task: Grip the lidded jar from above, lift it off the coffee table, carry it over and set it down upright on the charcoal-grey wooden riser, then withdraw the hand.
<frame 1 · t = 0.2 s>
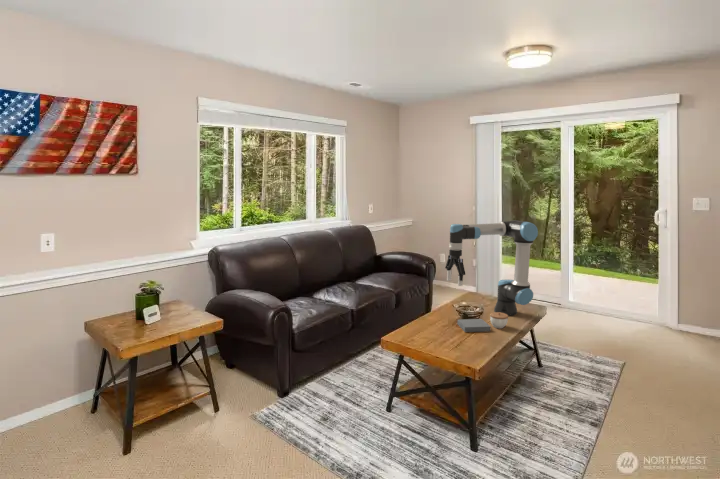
hand: (454, 283, 258), 28 cm above the table, tool pointing down, fingers open, 13 cm apart
lidded jar: (498, 327, 261), on the table
riser: (473, 327, 259), on the table
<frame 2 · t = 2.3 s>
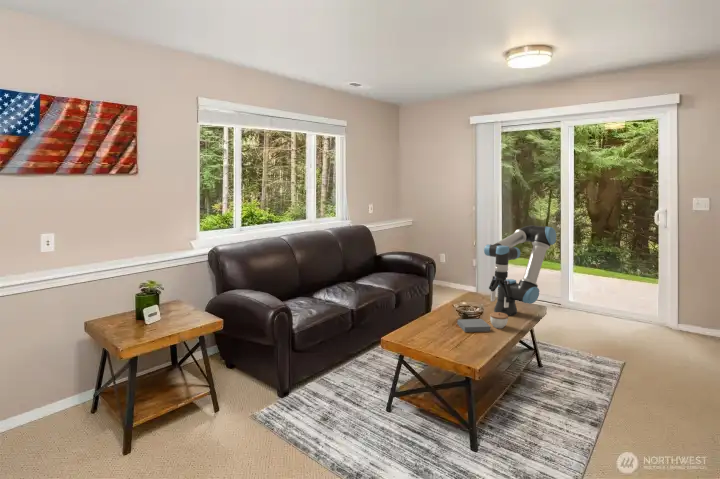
hand: (499, 304, 258), 15 cm above the table, tool pointing down, fingers open, 13 cm apart
nothing on the table moved.
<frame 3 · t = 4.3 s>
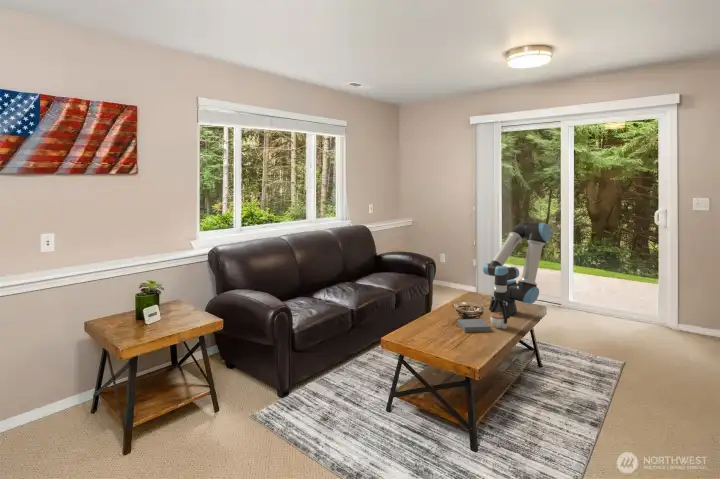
hand: (498, 325, 261), 1 cm above the table, tool pointing down, fingers closed on lidded jar, 11 cm apart
lidded jar: (498, 326, 261), on the table, touching gripper
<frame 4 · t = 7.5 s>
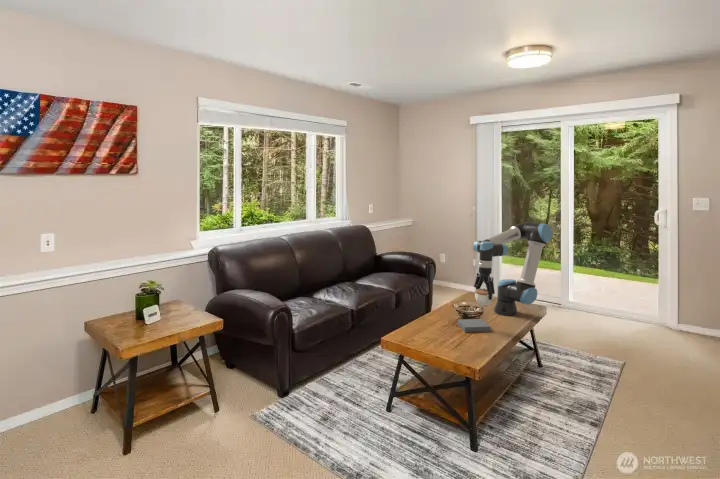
hand: (483, 301, 257), 17 cm above the table, tool pointing down, fingers closed on lidded jar, 11 cm apart
lidded jar: (483, 303, 257), point 15 cm above the table, touching gripper
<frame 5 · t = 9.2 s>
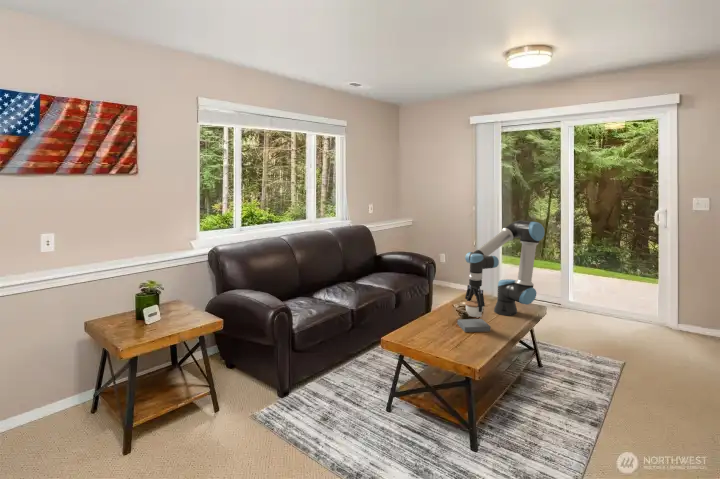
hand: (473, 313, 258), 9 cm above the table, tool pointing down, fingers closed on lidded jar, 11 cm apart
lidded jar: (473, 315, 258), point 8 cm above the table, touching gripper
when the fingers open (6 cm above the table, at t = 10.8 s): lidded jar drops 2 cm, resting on riser.
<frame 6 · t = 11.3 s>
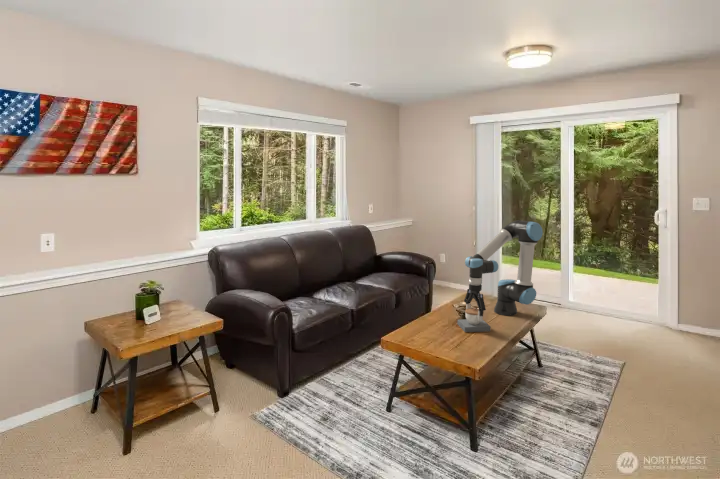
hand: (473, 317, 258), 7 cm above the table, tool pointing down, fingers open, 13 cm apart
lidded jar: (473, 323, 259), point 3 cm above the table, touching riser
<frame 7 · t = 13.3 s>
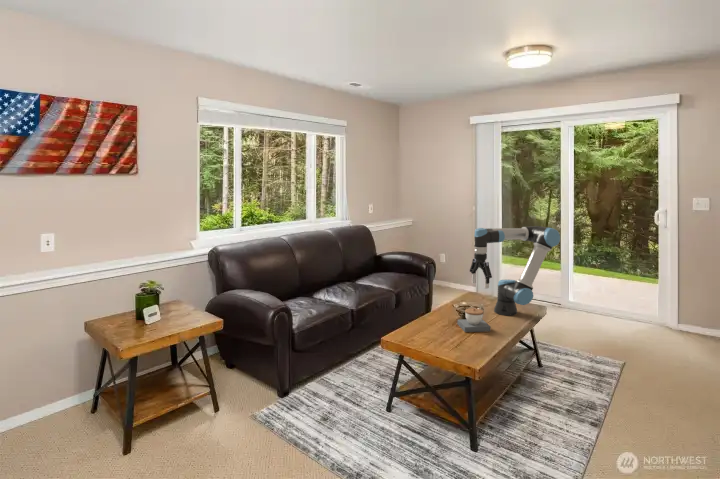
hand: (480, 285, 265), 24 cm above the table, tool pointing down, fingers open, 13 cm apart
nothing on the table moved.
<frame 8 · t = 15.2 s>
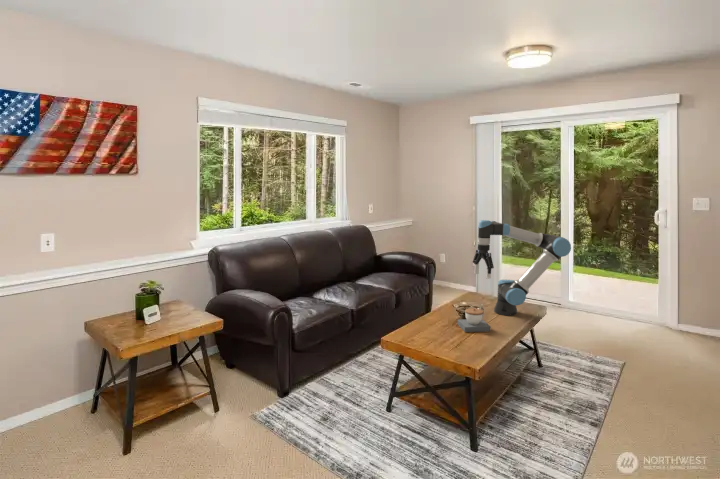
hand: (482, 276, 272), 29 cm above the table, tool pointing down, fingers open, 13 cm apart
nothing on the table moved.
at the end: lidded jar inside the target area on the riser (0.3 cm from its centre), point 2.8 cm above the riser's base; lidded jar tilted 0°; the gripper is holding nothing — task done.
